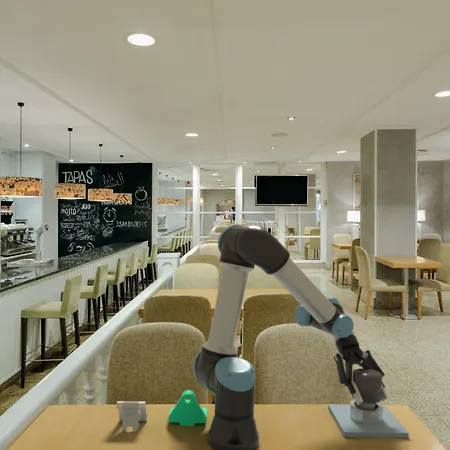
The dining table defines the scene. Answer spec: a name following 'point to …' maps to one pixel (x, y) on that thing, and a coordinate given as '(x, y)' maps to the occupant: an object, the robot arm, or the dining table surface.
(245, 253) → the robot arm
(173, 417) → the camera mount
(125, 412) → the portable electronic device stand
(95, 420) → the dining table surface
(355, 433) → the board
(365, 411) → the pale grey faceted ring
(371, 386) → the dome-topped grey cylinder
